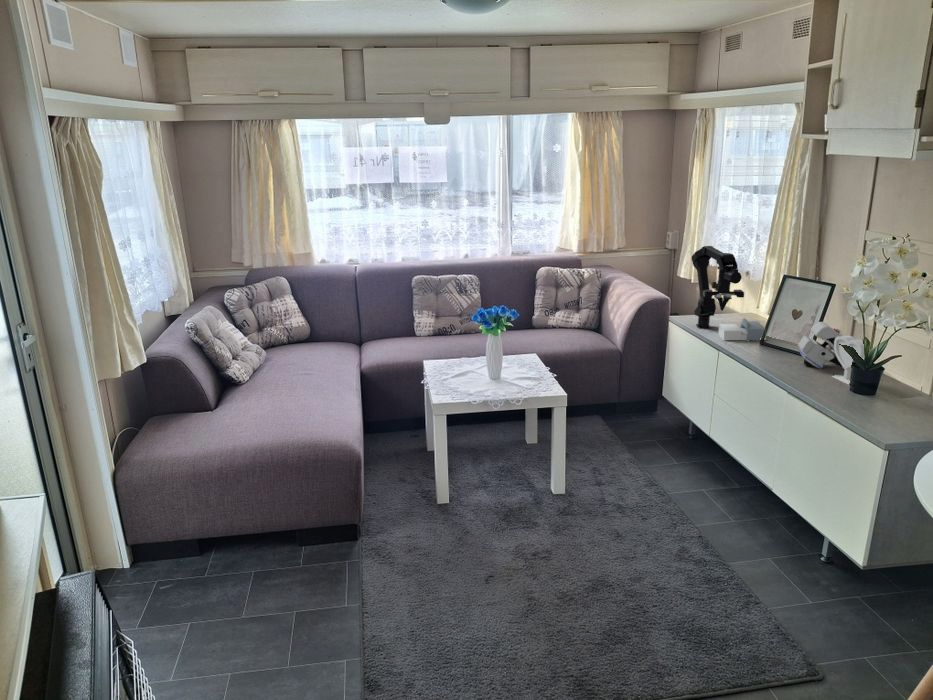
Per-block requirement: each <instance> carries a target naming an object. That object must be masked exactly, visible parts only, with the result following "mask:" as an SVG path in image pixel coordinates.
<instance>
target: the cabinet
mask: <svg viewBox="0 0 933 700" xmlns="http://www.w3.org/2000/svg"><path fill="white" fill-rule="evenodd" d="M740 328H746V329H747V330H748V334H747V340H753V341H752V342H760V341H759V340H760V338H761V337H762V335H763V332H764V329H765V330H766V328H765V326H763V325H762V324H761V323H760V322H759V321H756V320H755V321H754V320H753V321H752V320H749V321H748V320H747V319H746V318H742V320H741V323H740ZM754 340H756V341H754Z"/></svg>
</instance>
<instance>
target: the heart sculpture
mask: <svg viewBox="0 0 933 700" xmlns="http://www.w3.org/2000/svg"><path fill="white" fill-rule="evenodd" d="M839 344H841V345H847V346H850V347H853V348H854V349H855V350H856V352H857V353H858V355H859V356H860V357H861V358H862V359H863V358H864V357H865V356H864V344H863V340H862V339H856V338H855V337H854V336H852V335H842V336H839V337H836V338H835V341H834V350H835V354H836V355H835V354H834V355H835V356H836V357H837V358H838V360H839V362H840V363H841V365H842V366H843V368H842V369H844V371H843V374H835V375H834V376H833V375H831V377H832V378H834V379H836V380H839V382H842V383H843V384H846V385H848V386H850V385H849V383H850V379H851V374H852V368H851V365H852V361H853V359H852V357H851V356H850V355H849V354H848V353H847V352H846V351H845V350H844V348H843V347H842V346H841V345H839Z"/></svg>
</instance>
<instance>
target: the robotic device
mask: <svg viewBox="0 0 933 700" xmlns="http://www.w3.org/2000/svg"><path fill="white" fill-rule="evenodd" d="M810 332H811V333H812V334H813V335H814V336H815V337H817V338H819V339H821V340H822V341H823V343H822V344H821V343H820V342H818V341H817V340H815V338H813V337H810V338H809V337H808V336H806V335H805V336H804V335H803V336H802V338H801V340H800V341H798V344H797V347H798V348H799V353H800V355H801V356H802V358H803V364H804V365H805V367H812V366H813V367H816V368H817V369H820V370H822V369H823V367H824V365H825V364H826V363H827V362H830V363H832V364H834V365H837V366H838V367H840V368H842V369H844V368H843V366H842V365H841V363H840V362H839V360H838V358H837V357H836V354H835V350H834V341H835V338H836V337H839V336H843V334H841V332H842V331H841V330H840V329H838V328H837V327H836V326H835V327H834V328H833V327H831V326H830V325H829V324H827V323H826V322H824V321H817V322H816V323H814V325H813V326H812V327H811V328H810ZM826 347H829V349H828V348H826Z"/></svg>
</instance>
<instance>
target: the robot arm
mask: <svg viewBox="0 0 933 700" xmlns="http://www.w3.org/2000/svg"><path fill="white" fill-rule="evenodd" d="M711 259H712V260H713V259H714V260H715V262H716V263H715V264H717V265H718V267H717V268H716V269H717V270H718V278H717V279H718V280H717V282H716V281H712V282H711V289H710V284H709V276H708V275H709V274H708V267H709V264H710V260H711ZM691 262H692V266H693V267H694V268H695V270H696V271H697V272H696V273H697V279H698V280H697V281H698V287H699V299H698V301H697V307H696V308H695V310H694V315H695V316H697V317H698V318H697V323H696V325H695V326H696V328H698V329H711V328H712V326H711V325H710V322H711V321H710V320H711V319H710V317H711V316H712V317H713V316H715V313H716V310H717V307H716V306H717V305H716V300H717V301H718V305H719V307H720V311H721V312H722V311H723V312H724V310H725V307H726V305H727V304H728V302H729V301H730V300H732V299H733V298H732V296H736V298H745V292H744V291H743V290H742V289H733V291H731V285H732V284H733V285H734V284H735V285H736V284H739V283H740V282H741V280H742V276H743V275H742V274H741V273H740V272H739V269H738V263H737V260H736V257H735V255H734V253H730V252H723V251H721V250H719V249H717V248H715V247H714V246H712V245H704V246H702V247H701V248H699V250H696V251H695V252H694V253H693V254H692V255H691ZM731 283H732V284H731ZM713 289H715V290H714V291H713ZM712 297H713V298H712Z"/></svg>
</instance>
